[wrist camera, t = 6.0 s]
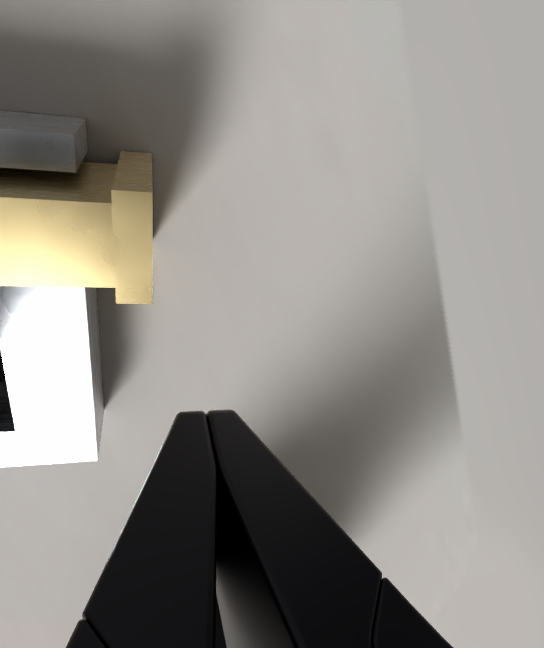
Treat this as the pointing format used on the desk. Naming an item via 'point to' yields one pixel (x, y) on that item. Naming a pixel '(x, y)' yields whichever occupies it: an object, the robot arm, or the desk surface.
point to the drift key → (80, 227)
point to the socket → (48, 326)
